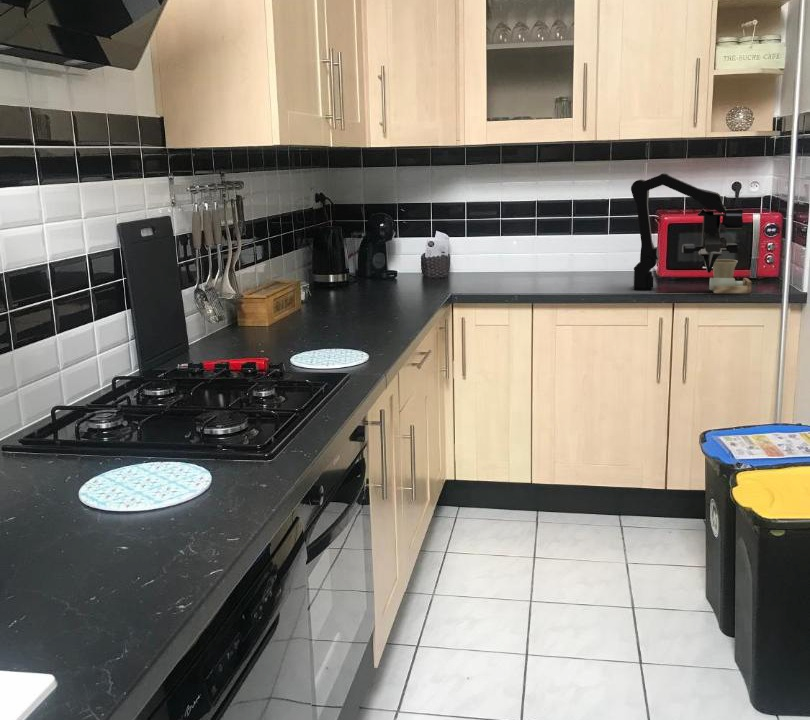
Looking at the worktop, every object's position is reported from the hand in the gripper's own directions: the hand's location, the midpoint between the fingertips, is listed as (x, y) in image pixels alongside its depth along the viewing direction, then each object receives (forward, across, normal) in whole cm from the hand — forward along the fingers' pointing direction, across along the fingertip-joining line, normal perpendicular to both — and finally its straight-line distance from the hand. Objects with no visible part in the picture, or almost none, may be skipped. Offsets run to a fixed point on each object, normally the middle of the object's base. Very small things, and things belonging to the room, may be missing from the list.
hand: (708, 272), depth 298 cm
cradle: (+7, +7, 0) cm, 10 cm away
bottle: (+4, +1, 0) cm, 4 cm away
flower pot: (+7, +8, +16) cm, 19 cm away
